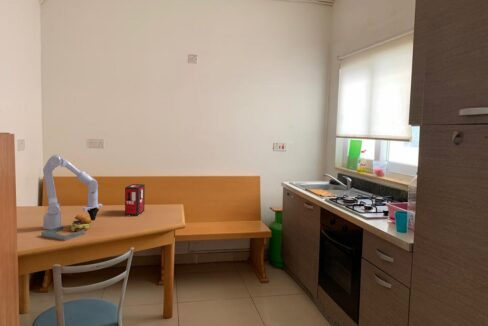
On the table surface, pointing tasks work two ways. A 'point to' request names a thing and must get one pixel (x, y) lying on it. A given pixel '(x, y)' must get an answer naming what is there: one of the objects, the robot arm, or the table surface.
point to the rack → (54, 235)
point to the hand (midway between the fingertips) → (92, 220)
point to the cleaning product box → (134, 199)
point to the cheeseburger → (81, 223)
